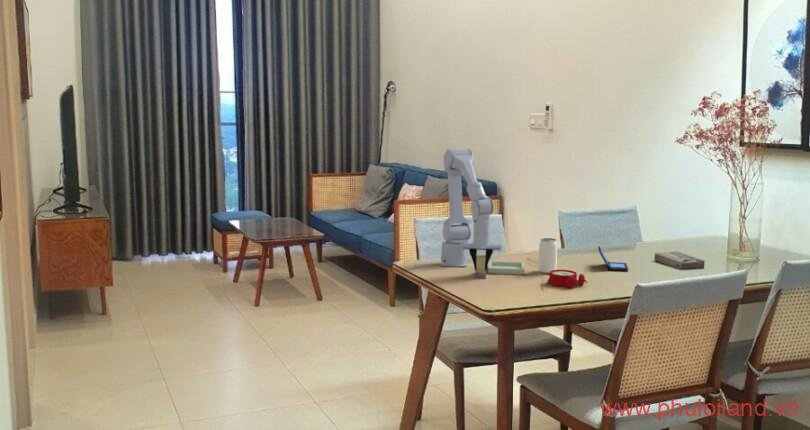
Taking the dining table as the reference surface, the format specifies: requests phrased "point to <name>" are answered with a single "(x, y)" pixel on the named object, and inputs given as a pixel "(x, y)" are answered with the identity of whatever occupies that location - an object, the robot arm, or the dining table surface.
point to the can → (547, 255)
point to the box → (679, 260)
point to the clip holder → (480, 274)
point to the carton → (480, 263)
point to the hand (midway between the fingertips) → (480, 269)
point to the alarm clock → (565, 278)
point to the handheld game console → (613, 264)
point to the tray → (506, 267)
